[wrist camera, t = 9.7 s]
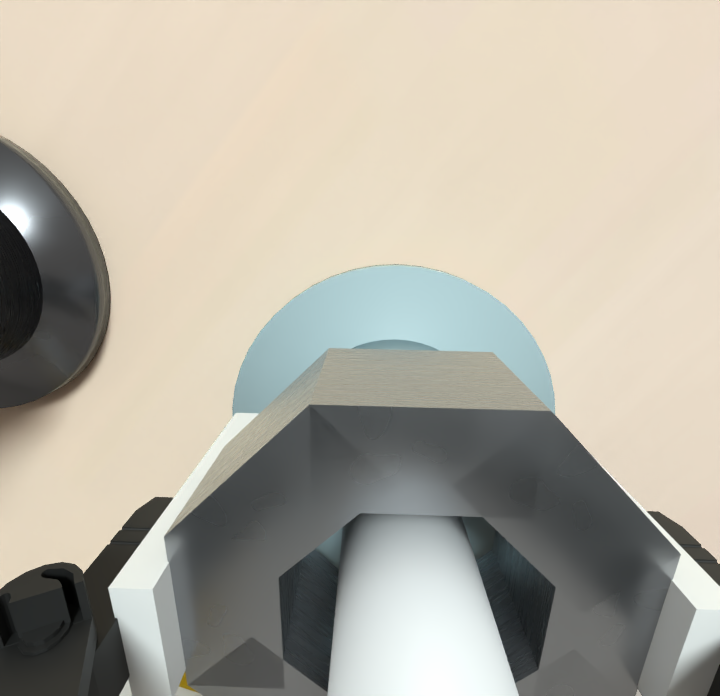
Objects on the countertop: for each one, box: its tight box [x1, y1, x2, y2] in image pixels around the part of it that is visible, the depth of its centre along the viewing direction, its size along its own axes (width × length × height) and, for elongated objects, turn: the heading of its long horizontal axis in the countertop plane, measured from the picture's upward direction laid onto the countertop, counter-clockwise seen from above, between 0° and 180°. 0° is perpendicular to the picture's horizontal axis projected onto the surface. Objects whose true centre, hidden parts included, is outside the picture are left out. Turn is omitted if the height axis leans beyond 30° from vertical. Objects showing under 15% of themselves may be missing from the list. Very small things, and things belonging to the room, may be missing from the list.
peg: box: [233, 264, 555, 696], centre depth 10 cm, size 12×12×11 cm
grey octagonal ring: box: [164, 348, 681, 696], centre depth 9 cm, size 9×9×3 cm
